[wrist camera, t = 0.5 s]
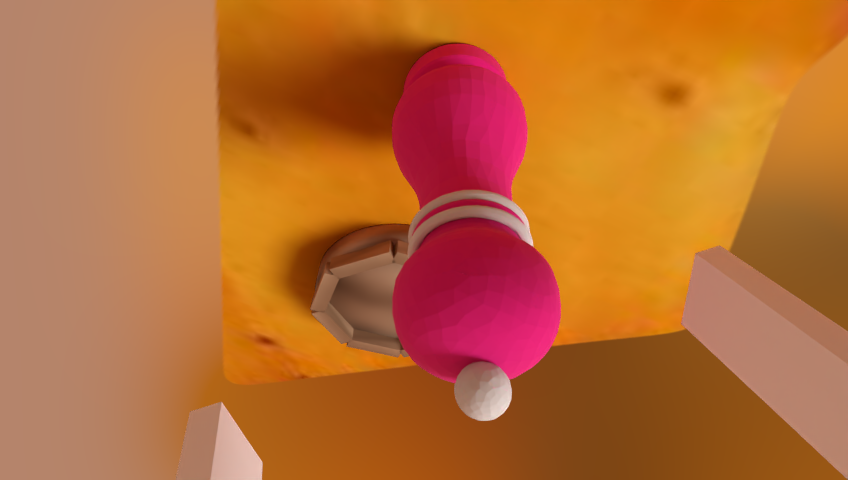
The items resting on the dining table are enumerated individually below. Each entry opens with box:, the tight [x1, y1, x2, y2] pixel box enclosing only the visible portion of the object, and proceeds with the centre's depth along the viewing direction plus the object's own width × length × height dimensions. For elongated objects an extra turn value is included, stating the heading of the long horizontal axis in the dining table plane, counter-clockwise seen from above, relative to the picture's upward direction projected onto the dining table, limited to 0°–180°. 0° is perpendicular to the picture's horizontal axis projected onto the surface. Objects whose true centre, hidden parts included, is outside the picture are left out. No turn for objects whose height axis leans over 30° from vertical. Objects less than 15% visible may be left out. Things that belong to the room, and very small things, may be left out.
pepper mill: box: [392, 44, 561, 421], centre depth 21 cm, size 7×7×20 cm
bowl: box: [310, 224, 410, 357], centre depth 39 cm, size 14×14×3 cm
